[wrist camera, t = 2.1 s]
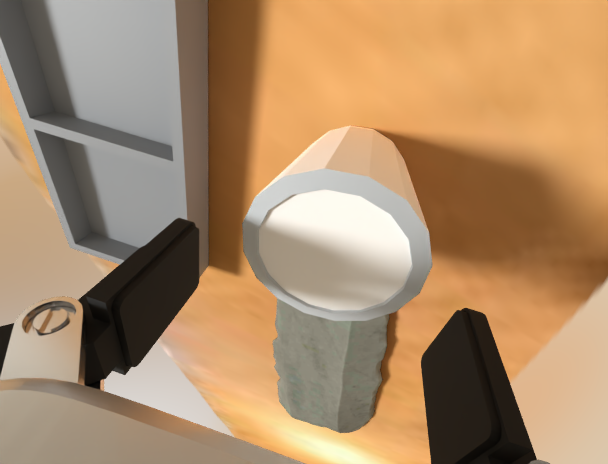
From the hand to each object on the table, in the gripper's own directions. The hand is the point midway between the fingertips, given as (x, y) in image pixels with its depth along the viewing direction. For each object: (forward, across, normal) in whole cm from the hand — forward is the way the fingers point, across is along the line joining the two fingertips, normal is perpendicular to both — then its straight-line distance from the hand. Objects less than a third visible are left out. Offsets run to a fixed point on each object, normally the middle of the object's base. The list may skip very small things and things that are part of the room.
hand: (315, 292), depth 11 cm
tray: (+8, +13, 0) cm, 15 cm away
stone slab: (+9, -3, +16) cm, 18 cm away
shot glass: (+8, 0, -1) cm, 8 cm away
